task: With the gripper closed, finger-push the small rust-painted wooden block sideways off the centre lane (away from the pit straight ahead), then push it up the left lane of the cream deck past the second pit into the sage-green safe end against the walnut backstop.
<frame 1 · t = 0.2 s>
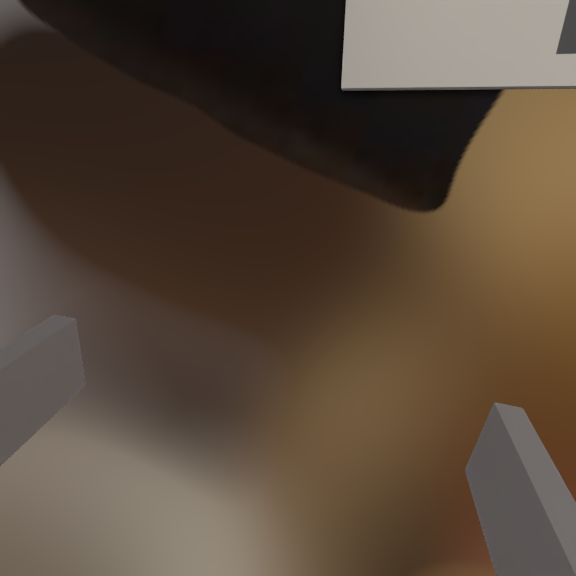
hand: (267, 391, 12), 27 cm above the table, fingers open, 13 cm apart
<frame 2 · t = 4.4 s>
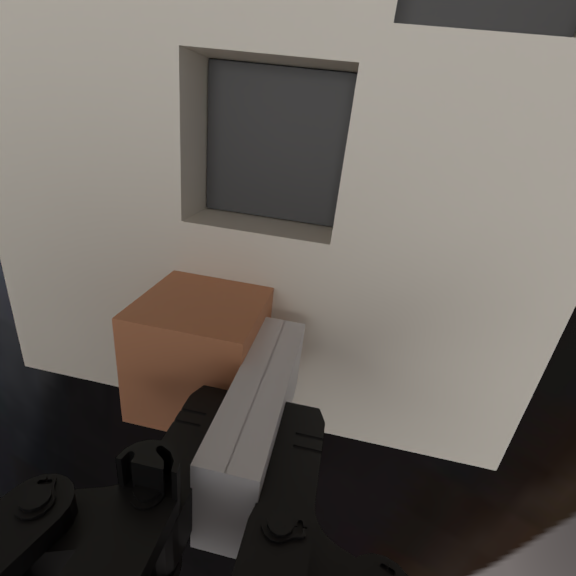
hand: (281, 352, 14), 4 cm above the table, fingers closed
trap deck: (275, 154, 15), on the table
block: (221, 323, 15), point 3 cm above the table, touching gripper
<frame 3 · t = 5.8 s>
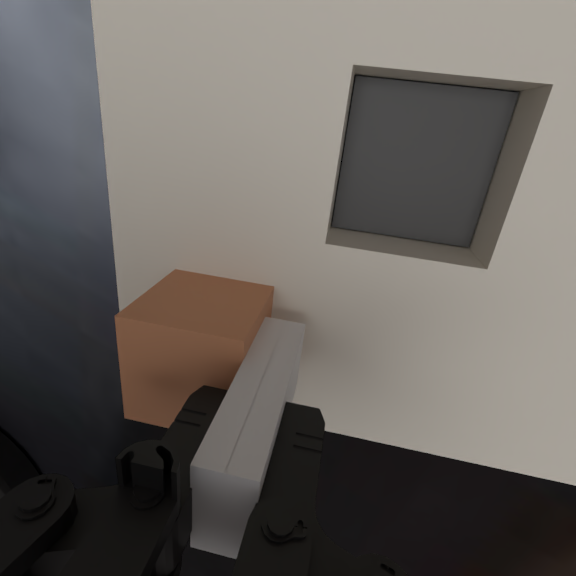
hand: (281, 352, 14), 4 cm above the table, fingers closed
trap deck: (413, 172, 14), on the table
block: (222, 322, 15), point 3 cm above the table, touching gripper, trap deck
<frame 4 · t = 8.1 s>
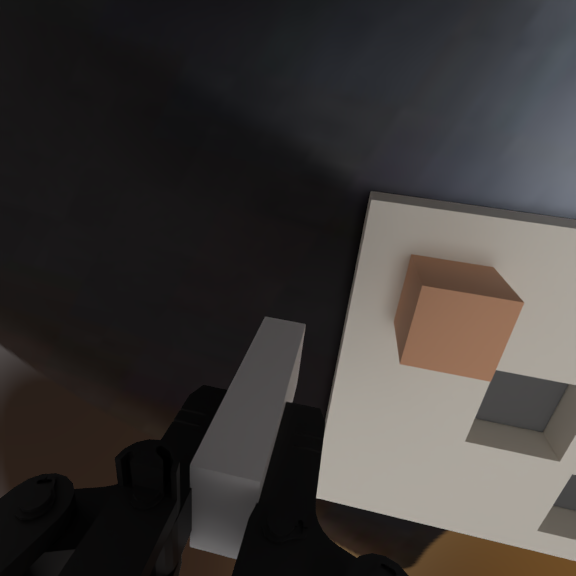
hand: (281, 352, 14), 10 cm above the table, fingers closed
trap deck: (509, 388, 24), on the table
block: (440, 296, 20), point 2 cm above the table, touching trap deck
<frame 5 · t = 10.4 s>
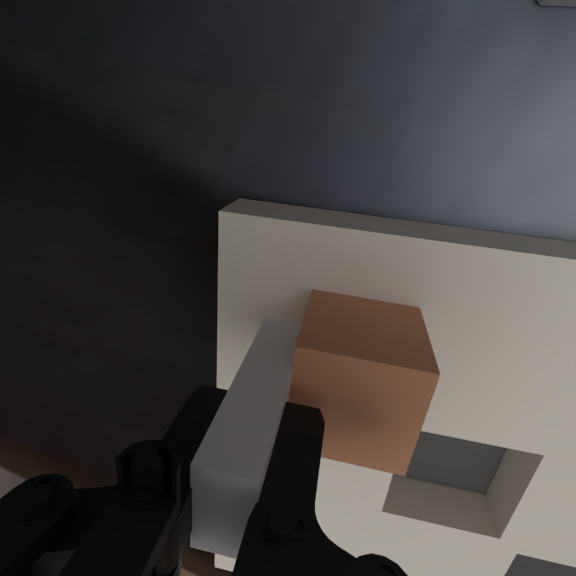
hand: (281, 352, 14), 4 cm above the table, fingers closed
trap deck: (439, 441, 19), on the table
block: (355, 343, 15), point 3 cm above the table, touching gripper
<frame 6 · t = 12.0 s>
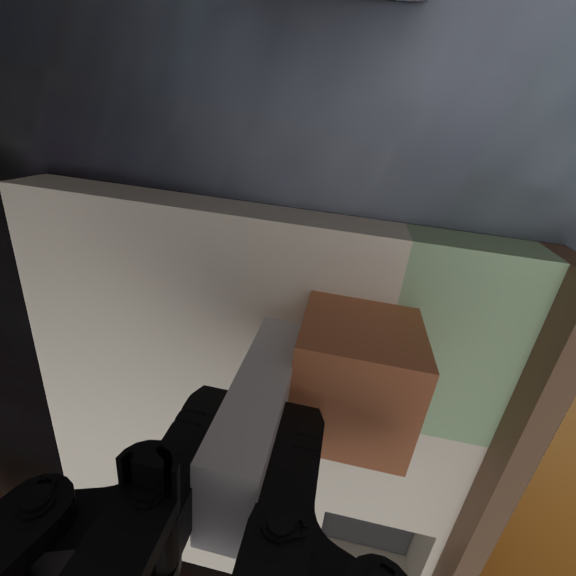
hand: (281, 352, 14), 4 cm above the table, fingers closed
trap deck: (264, 408, 20), on the table
block: (355, 344, 15), point 3 cm above the table, touching gripper
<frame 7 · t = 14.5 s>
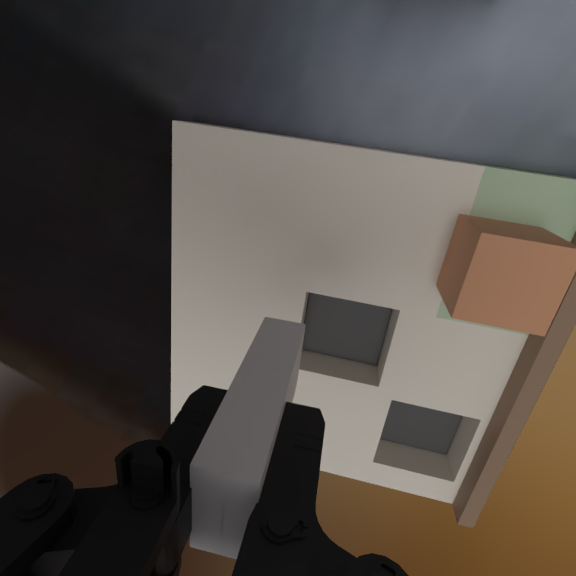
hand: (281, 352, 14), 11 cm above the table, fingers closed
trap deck: (341, 321, 25), on the table
block: (486, 257, 20), point 2 cm above the table, touching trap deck
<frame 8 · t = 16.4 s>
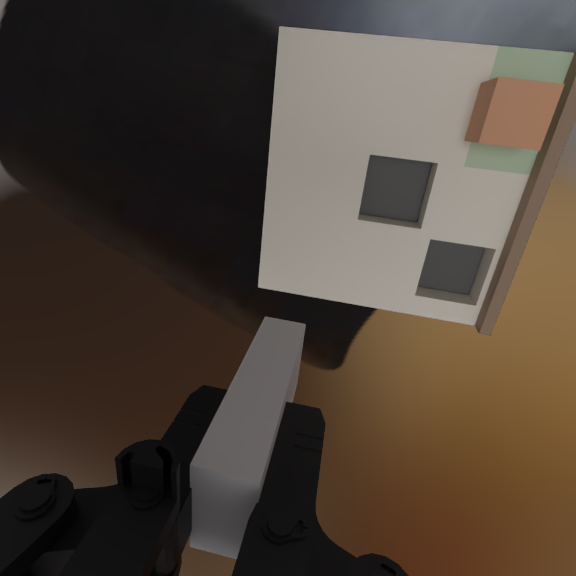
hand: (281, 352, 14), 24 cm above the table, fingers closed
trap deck: (391, 187, 34), on the table
block: (499, 115, 28), point 2 cm above the table, touching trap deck
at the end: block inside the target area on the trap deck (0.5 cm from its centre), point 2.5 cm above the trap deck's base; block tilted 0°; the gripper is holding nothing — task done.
